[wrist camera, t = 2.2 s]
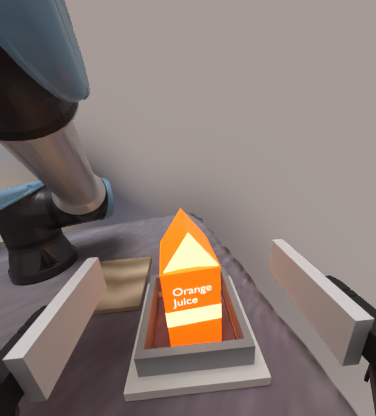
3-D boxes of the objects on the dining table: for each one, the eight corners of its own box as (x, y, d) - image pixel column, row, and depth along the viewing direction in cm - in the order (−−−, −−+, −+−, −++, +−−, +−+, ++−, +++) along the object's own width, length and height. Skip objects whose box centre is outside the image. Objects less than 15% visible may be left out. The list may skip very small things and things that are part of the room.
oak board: (93, 265, 48) (92, 262, 48) (151, 259, 49) (151, 256, 48) (55, 318, 33) (53, 314, 33) (139, 309, 34) (138, 305, 33)
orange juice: (171, 357, 26) (152, 236, 19) (169, 306, 34) (155, 209, 27) (223, 346, 26) (221, 226, 20) (208, 299, 35) (204, 204, 28)
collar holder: (149, 289, 38) (145, 270, 37) (230, 281, 39) (230, 262, 37) (125, 401, 21) (117, 376, 20) (270, 384, 22) (273, 358, 20)
